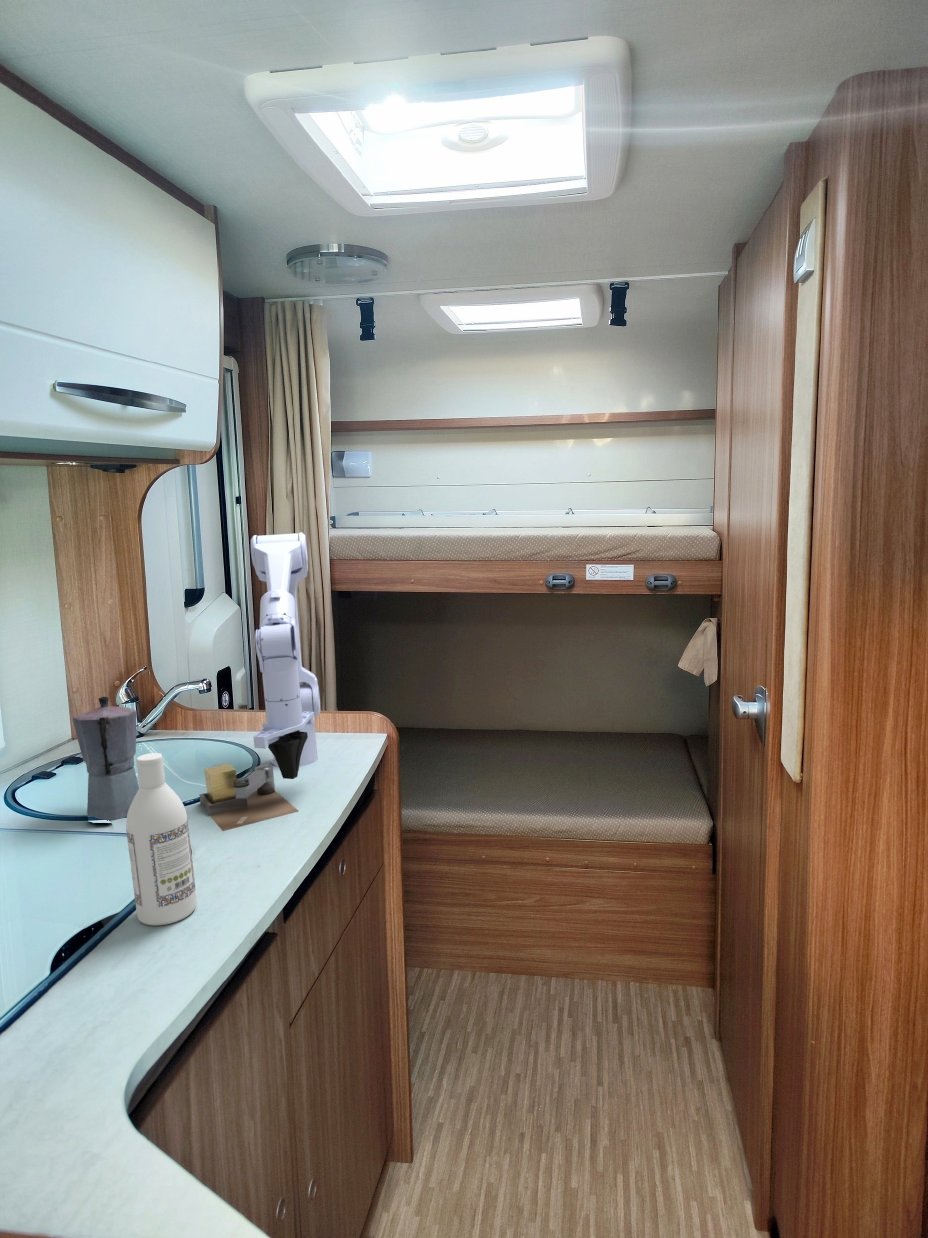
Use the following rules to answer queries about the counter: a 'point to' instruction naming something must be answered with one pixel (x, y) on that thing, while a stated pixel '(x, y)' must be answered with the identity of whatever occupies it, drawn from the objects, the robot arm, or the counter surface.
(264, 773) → the crank
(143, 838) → the bath foam
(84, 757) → the moka pot
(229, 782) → the block
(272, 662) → the robot arm
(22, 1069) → the counter surface
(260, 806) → the base
